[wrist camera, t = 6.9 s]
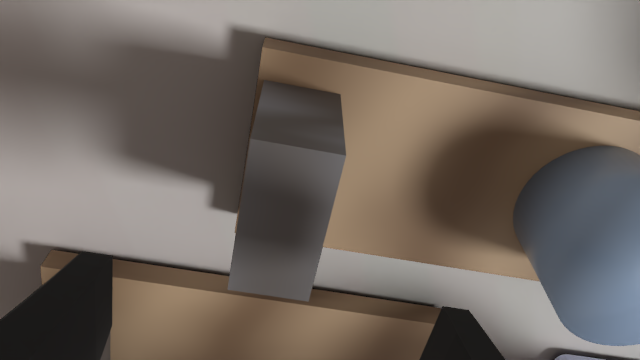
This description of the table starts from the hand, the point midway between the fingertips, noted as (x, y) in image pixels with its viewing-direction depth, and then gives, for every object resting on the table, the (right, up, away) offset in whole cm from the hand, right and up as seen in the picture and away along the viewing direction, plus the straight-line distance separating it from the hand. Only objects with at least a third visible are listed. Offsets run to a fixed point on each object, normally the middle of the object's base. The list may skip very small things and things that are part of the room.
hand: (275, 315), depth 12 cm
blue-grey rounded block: (+10, +2, +7) cm, 13 cm away
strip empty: (-2, -4, +12) cm, 13 cm away
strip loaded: (+6, +3, +8) cm, 11 cm away
